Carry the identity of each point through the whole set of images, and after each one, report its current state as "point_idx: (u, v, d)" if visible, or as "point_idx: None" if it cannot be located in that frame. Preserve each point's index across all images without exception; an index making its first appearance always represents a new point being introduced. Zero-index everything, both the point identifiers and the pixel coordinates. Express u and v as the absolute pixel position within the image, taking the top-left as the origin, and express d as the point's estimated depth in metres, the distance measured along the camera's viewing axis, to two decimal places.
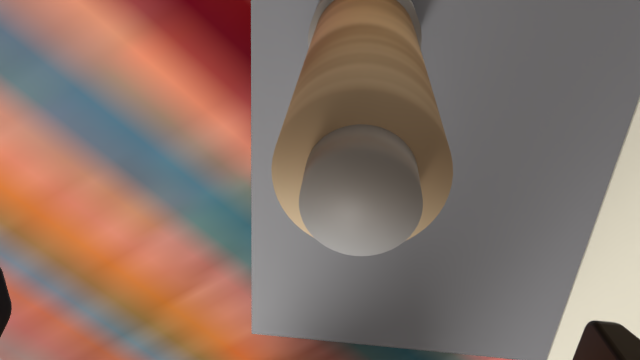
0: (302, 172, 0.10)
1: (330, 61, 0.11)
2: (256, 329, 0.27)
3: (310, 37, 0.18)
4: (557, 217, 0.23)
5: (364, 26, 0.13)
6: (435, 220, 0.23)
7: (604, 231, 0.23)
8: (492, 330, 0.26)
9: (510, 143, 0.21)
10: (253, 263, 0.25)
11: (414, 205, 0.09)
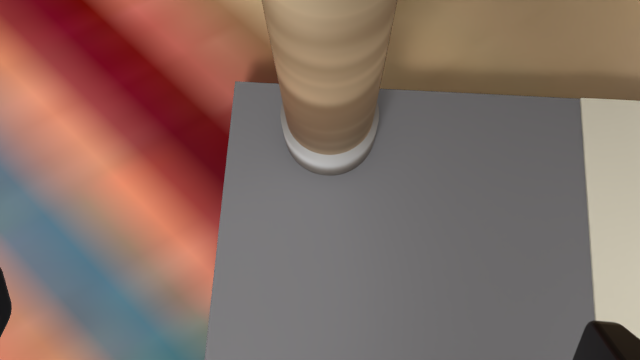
0: None
1: None
2: None
3: (282, 110, 0.20)
4: (552, 326, 0.20)
5: None
6: (419, 337, 0.20)
7: None
8: None
9: (480, 239, 0.21)
10: None
11: None
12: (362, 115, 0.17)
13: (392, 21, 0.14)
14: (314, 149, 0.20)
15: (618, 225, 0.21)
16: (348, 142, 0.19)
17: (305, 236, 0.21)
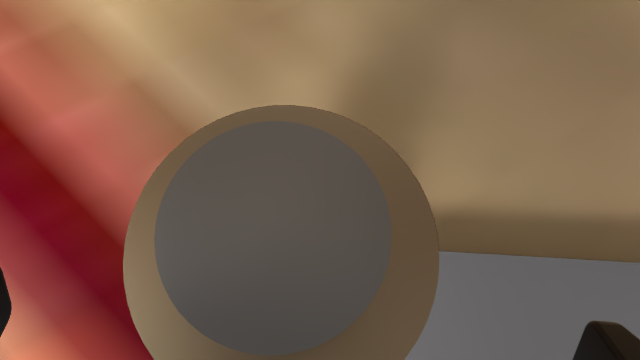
0: None
1: None
2: None
3: None
4: None
5: None
6: None
7: None
8: None
9: None
10: None
11: (375, 225, 0.05)
12: None
13: None
14: None
15: None
16: None
17: None
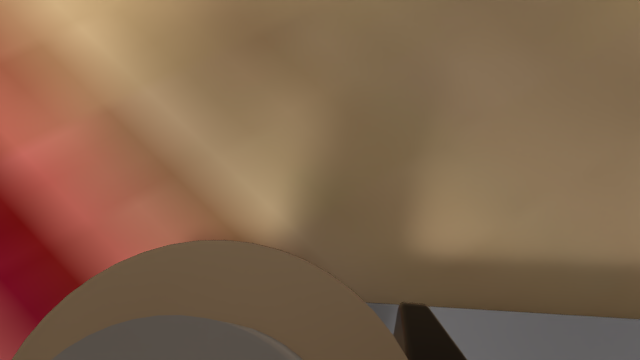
0: None
1: None
2: None
3: None
4: None
5: None
6: None
7: None
8: None
9: None
10: None
11: None
12: None
13: None
14: None
15: None
16: None
17: None
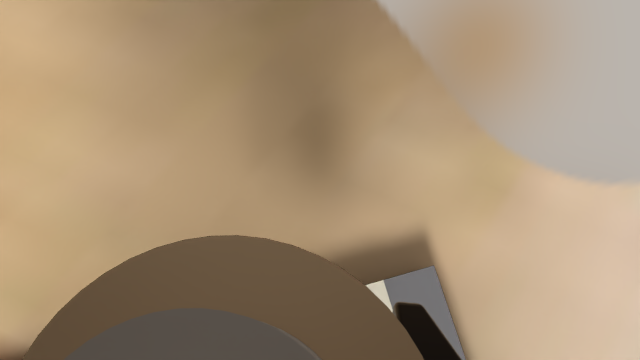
0: None
1: None
2: None
3: None
4: None
5: None
6: None
7: None
8: None
9: None
10: None
11: None
12: None
13: None
14: None
15: None
16: None
17: None
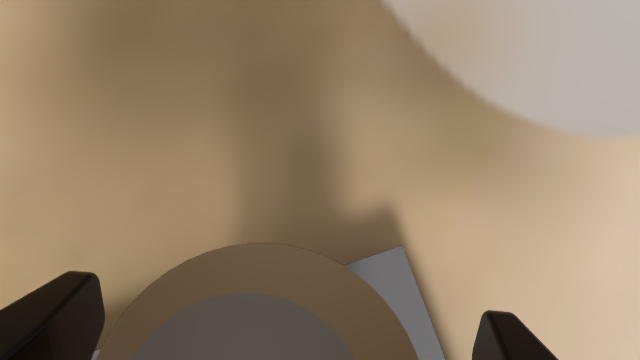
0: None
1: None
2: None
3: None
4: None
5: None
6: None
7: None
8: None
9: None
10: None
11: None
12: None
13: None
14: None
15: None
16: None
17: None
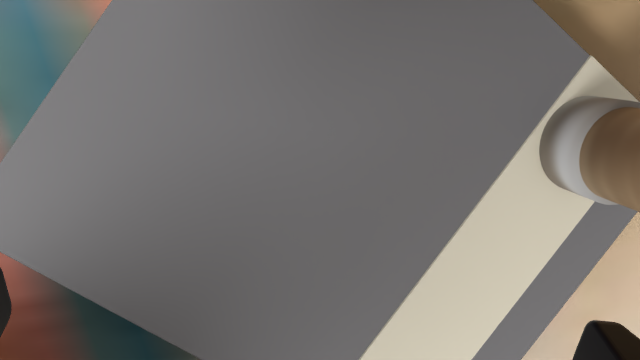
0: None
1: None
2: None
3: (604, 111, 0.18)
4: (409, 232, 0.20)
5: None
6: (294, 174, 0.19)
7: (441, 270, 0.21)
8: (279, 351, 0.20)
9: (408, 123, 0.19)
10: (34, 118, 0.17)
11: None
12: None
13: None
14: (586, 170, 0.18)
15: (523, 186, 0.21)
16: (614, 201, 0.18)
17: (247, 8, 0.17)
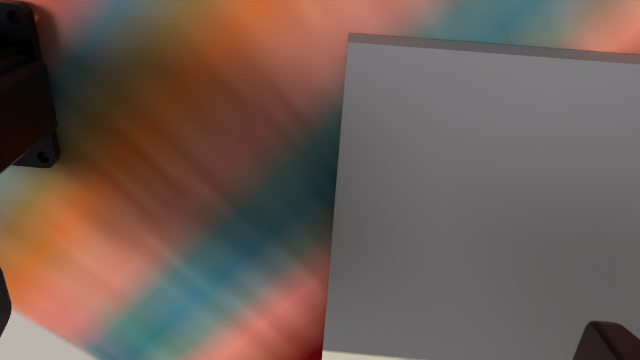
0: None
1: None
2: (356, 49, 0.18)
3: None
4: (509, 342, 0.24)
5: None
6: (519, 251, 0.22)
7: None
8: (365, 305, 0.24)
9: (598, 303, 0.23)
10: (476, 54, 0.18)
11: None
12: None
13: None
14: None
15: None
16: None
17: None
